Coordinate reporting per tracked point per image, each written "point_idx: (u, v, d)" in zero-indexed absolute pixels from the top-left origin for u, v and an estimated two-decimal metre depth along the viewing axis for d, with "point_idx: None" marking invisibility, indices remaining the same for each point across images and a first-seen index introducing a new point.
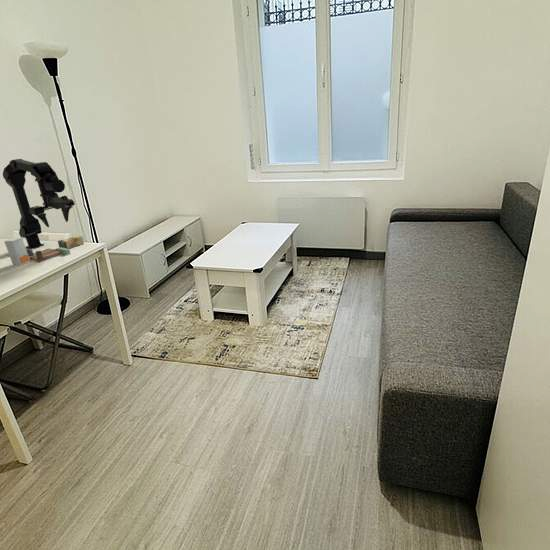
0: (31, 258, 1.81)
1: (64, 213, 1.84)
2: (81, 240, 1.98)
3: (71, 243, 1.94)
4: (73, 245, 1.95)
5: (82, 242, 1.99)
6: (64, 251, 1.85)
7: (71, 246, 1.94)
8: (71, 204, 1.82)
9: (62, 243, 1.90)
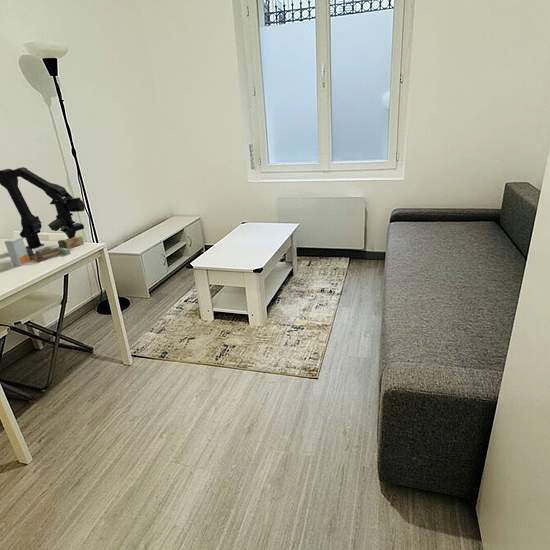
0: (31, 258, 1.81)
1: None
2: (81, 240, 1.98)
3: (71, 243, 1.94)
4: (73, 245, 1.95)
5: (82, 242, 1.99)
6: (64, 251, 1.85)
7: (71, 246, 1.94)
8: (71, 230, 1.90)
9: (62, 243, 1.90)
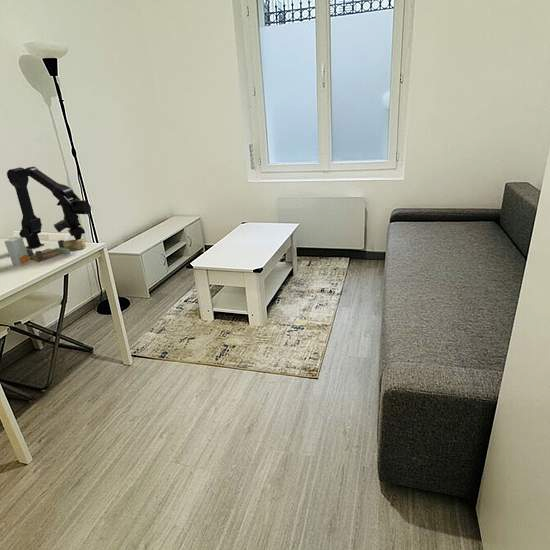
0: (31, 258, 1.81)
1: None
2: (80, 245, 1.91)
3: (69, 245, 1.90)
4: (71, 248, 1.91)
5: (81, 247, 1.92)
6: (64, 251, 1.85)
7: (68, 248, 1.91)
8: (70, 233, 1.85)
9: (59, 243, 1.90)
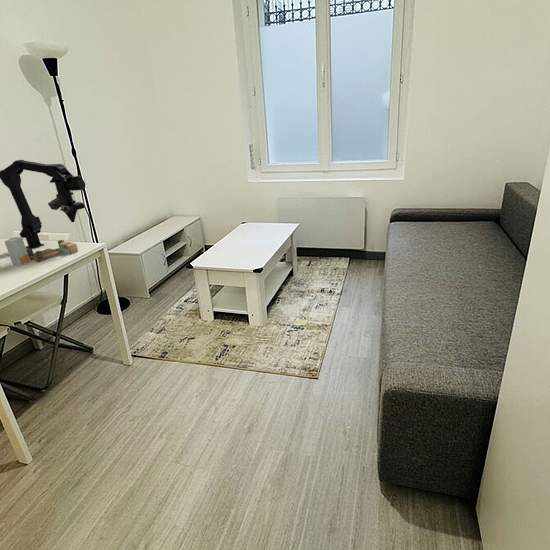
0: (31, 258, 1.81)
1: None
2: (69, 249, 1.85)
3: (62, 247, 1.88)
4: None
5: (70, 252, 1.86)
6: (64, 251, 1.85)
7: None
8: (71, 209, 1.85)
9: (58, 243, 1.90)
